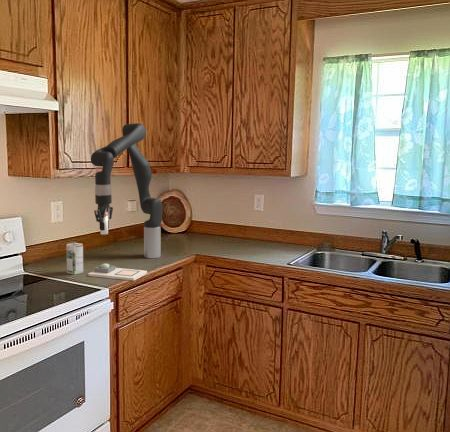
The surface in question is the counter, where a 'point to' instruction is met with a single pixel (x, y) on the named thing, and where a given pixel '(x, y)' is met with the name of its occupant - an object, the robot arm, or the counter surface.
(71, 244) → the syrup box
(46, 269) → the counter surface
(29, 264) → the counter surface
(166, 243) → the counter surface
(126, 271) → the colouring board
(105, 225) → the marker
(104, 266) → the button
